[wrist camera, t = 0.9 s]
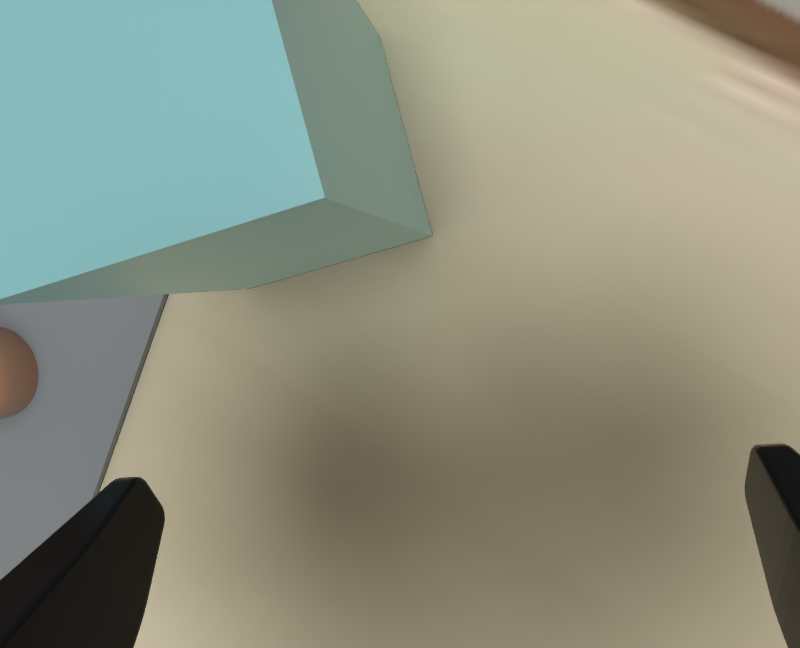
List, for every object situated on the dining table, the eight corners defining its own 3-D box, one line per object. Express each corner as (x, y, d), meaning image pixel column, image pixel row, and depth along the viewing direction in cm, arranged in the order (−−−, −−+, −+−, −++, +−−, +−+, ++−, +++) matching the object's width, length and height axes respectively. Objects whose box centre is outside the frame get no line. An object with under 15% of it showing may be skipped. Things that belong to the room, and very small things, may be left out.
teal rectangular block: (432, 235, 23) (325, 198, 11) (248, 288, 24) (-22, 305, 12) (379, 35, 22) (211, -223, 11) (197, 101, 24) (-127, -63, 12)
